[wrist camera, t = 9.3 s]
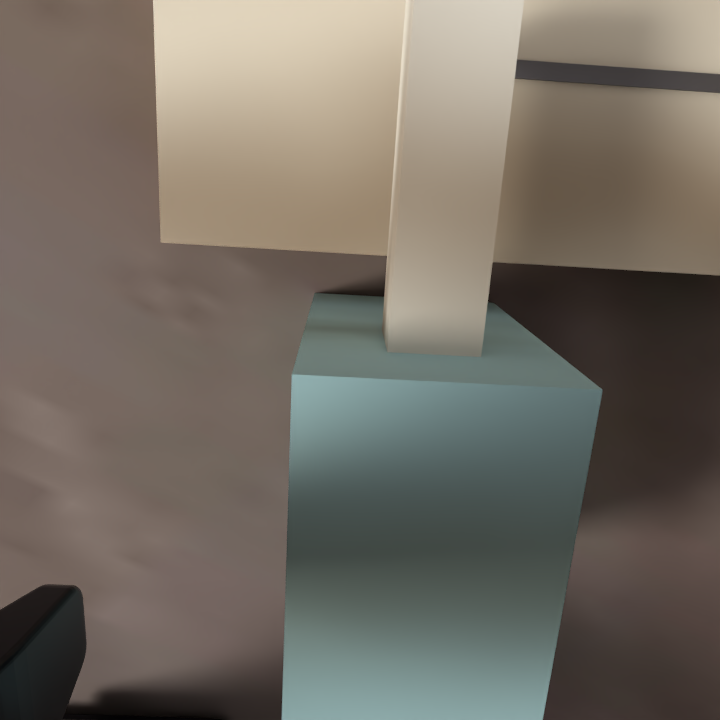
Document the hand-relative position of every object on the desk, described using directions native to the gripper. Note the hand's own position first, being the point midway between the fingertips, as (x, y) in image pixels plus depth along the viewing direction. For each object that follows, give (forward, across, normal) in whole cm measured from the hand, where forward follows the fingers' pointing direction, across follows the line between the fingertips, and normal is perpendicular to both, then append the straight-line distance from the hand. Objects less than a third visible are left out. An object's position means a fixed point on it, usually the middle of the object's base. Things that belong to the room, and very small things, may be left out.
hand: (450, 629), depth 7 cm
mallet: (+7, 0, -2) cm, 7 cm away
